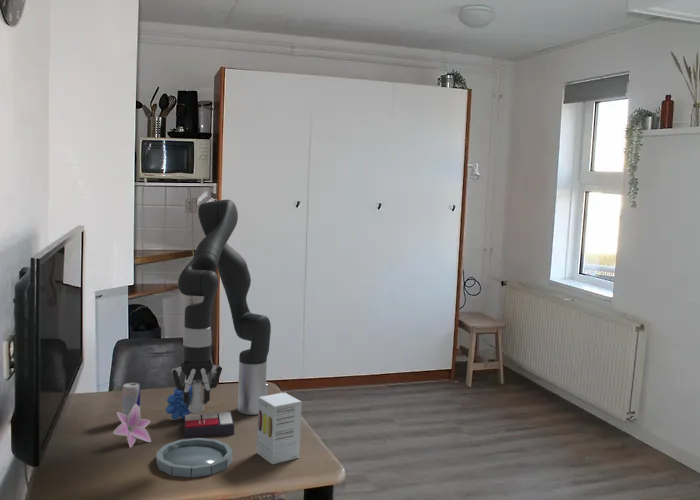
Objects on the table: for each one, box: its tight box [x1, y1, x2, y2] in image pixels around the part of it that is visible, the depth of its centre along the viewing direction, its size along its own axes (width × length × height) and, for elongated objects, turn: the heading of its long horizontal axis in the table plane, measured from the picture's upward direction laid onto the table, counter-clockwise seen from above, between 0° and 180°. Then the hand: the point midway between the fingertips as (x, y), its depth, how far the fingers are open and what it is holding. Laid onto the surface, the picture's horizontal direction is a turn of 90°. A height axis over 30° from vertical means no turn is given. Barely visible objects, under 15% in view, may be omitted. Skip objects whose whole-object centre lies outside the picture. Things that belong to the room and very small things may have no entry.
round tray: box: [156, 437, 234, 478], centre depth 185 cm, size 20×20×2 cm
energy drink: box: [121, 382, 141, 416], centre depth 211 cm, size 5×5×12 cm
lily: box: [113, 404, 152, 448], centre depth 196 cm, size 12×12×10 cm
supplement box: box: [255, 391, 303, 465], centre depth 191 cm, size 10×9×17 cm
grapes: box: [165, 383, 203, 420], centre depth 216 cm, size 12×7×12 cm, turn 120°
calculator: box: [183, 411, 235, 438], centre depth 209 cm, size 11×4×15 cm
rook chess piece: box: [188, 379, 205, 413], centre depth 183 cm, size 4×4×8 cm
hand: (196, 403), depth 184 cm, fingers closed on rook chess piece, 4 cm apart
